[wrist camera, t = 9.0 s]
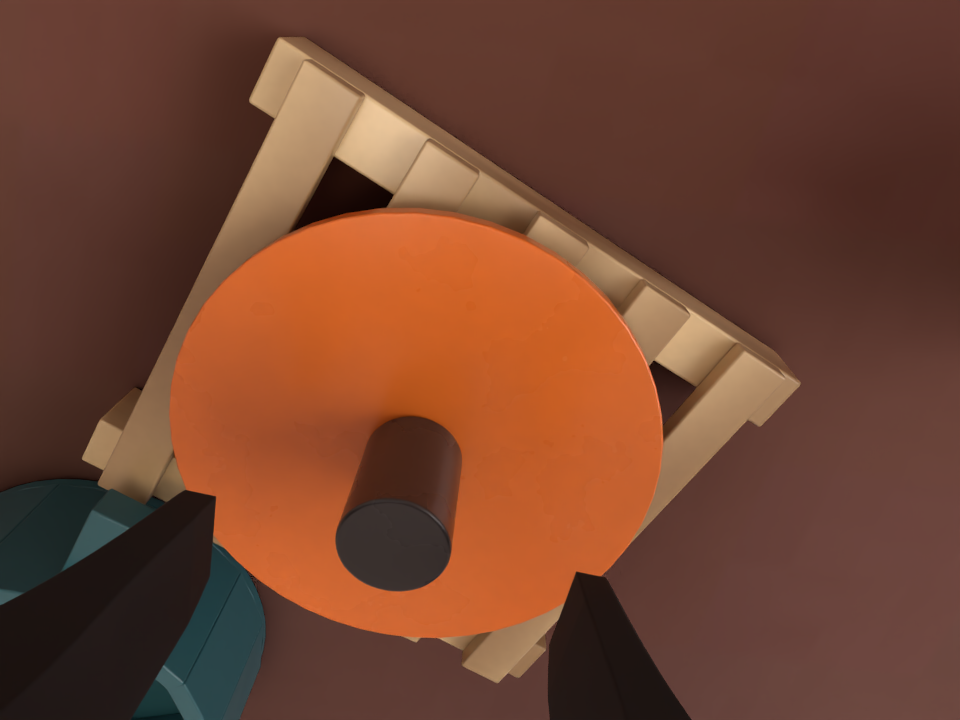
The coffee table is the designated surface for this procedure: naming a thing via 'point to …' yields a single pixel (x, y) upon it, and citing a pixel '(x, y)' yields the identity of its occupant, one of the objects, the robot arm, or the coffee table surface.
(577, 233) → the rack
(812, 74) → the coffee table surface
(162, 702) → the pot
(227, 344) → the lid
